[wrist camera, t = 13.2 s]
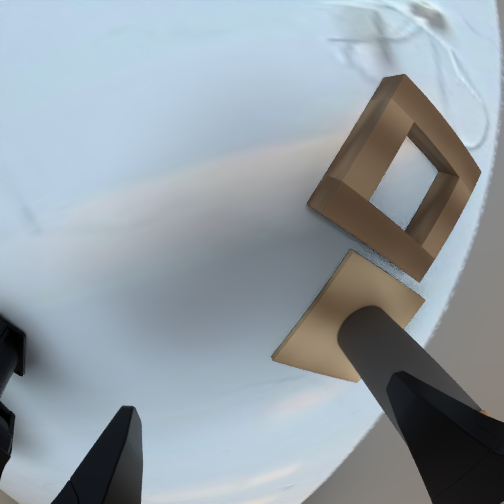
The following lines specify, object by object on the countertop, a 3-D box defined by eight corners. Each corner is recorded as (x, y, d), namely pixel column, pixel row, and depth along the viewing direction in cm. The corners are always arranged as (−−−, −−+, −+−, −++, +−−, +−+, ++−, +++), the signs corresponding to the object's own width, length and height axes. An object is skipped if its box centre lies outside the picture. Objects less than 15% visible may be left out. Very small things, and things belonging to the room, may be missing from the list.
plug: (350, 362, 25) (428, 477, 12) (326, 332, 23) (418, 469, 10) (393, 327, 24) (487, 427, 11) (375, 292, 22) (492, 405, 9)
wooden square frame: (402, 269, 22) (419, 282, 20) (306, 203, 19) (321, 214, 16) (461, 166, 20) (481, 172, 17) (383, 77, 16) (405, 73, 14)
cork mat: (355, 379, 27) (357, 382, 27) (271, 356, 23) (272, 360, 23) (422, 297, 24) (425, 300, 24) (350, 249, 21) (353, 251, 20)
